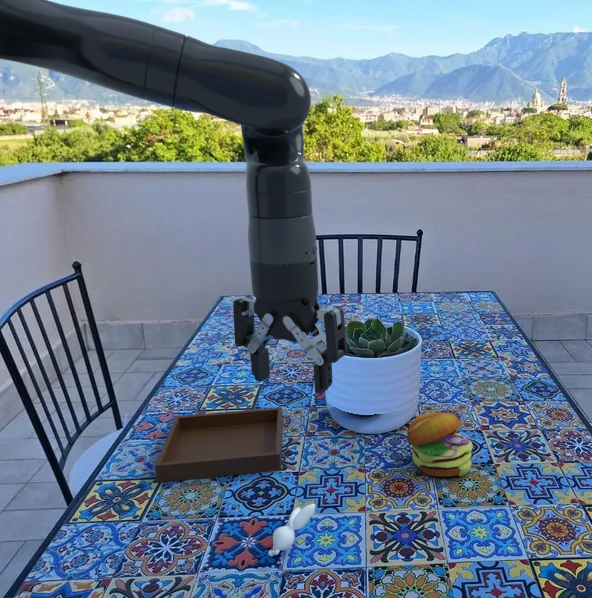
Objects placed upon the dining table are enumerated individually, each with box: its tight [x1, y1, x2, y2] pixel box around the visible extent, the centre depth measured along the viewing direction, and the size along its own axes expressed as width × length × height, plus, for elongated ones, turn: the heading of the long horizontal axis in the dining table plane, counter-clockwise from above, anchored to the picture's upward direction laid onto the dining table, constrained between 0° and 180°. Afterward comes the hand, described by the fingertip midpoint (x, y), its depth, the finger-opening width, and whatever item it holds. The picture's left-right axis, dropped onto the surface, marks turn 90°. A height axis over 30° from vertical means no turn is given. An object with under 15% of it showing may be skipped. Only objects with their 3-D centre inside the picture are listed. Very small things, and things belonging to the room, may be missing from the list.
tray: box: [154, 406, 284, 484], centre depth 99 cm, size 20×17×3 cm
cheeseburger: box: [406, 412, 474, 478], centre depth 94 cm, size 10×11×10 cm
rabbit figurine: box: [267, 503, 316, 557], centre depth 76 cm, size 6×4×8 cm
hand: (292, 385), depth 68 cm, fingers open, 8 cm apart
